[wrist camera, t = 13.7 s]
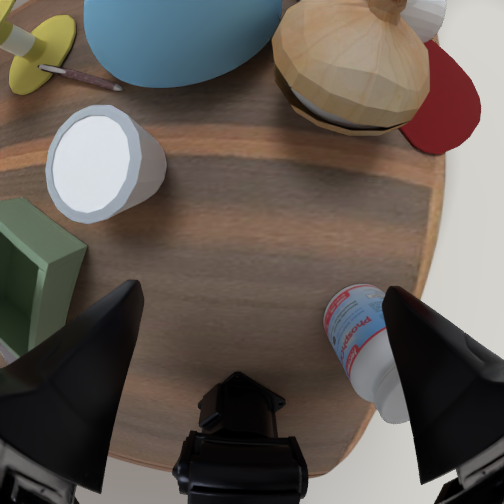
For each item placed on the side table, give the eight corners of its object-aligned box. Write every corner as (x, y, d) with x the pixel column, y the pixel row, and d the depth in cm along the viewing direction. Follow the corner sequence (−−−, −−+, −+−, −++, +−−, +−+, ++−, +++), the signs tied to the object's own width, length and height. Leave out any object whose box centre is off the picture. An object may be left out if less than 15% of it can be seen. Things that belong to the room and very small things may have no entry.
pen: (38, 70, 15) (32, 68, 14) (42, 63, 15) (36, 61, 14) (123, 95, 18) (119, 92, 17) (127, 86, 18) (123, 84, 17)
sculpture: (290, 64, 19) (254, -82, 5) (396, 80, 17) (441, -55, 3) (276, 158, 20) (204, -3, 5) (399, 178, 18) (517, 58, 3)
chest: (88, 245, 21) (48, 263, 15) (61, 344, 23) (33, 373, 17) (23, 197, 19) (-17, 203, 14) (5, 296, 22) (-25, 314, 16)
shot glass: (174, 210, 20) (141, 223, 13) (97, 212, 20) (45, 226, 13) (176, 121, 18) (145, 94, 12) (99, 131, 18) (48, 116, 11)
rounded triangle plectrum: (412, 3, 15) (413, 1, 15) (489, 118, 18) (491, 117, 18) (323, 31, 17) (324, 29, 16) (423, 173, 20) (425, 173, 19)
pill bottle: (326, 281, 22) (387, 362, 11) (390, 280, 22) (471, 343, 11) (317, 345, 23) (356, 441, 12) (377, 340, 23) (435, 419, 12)
